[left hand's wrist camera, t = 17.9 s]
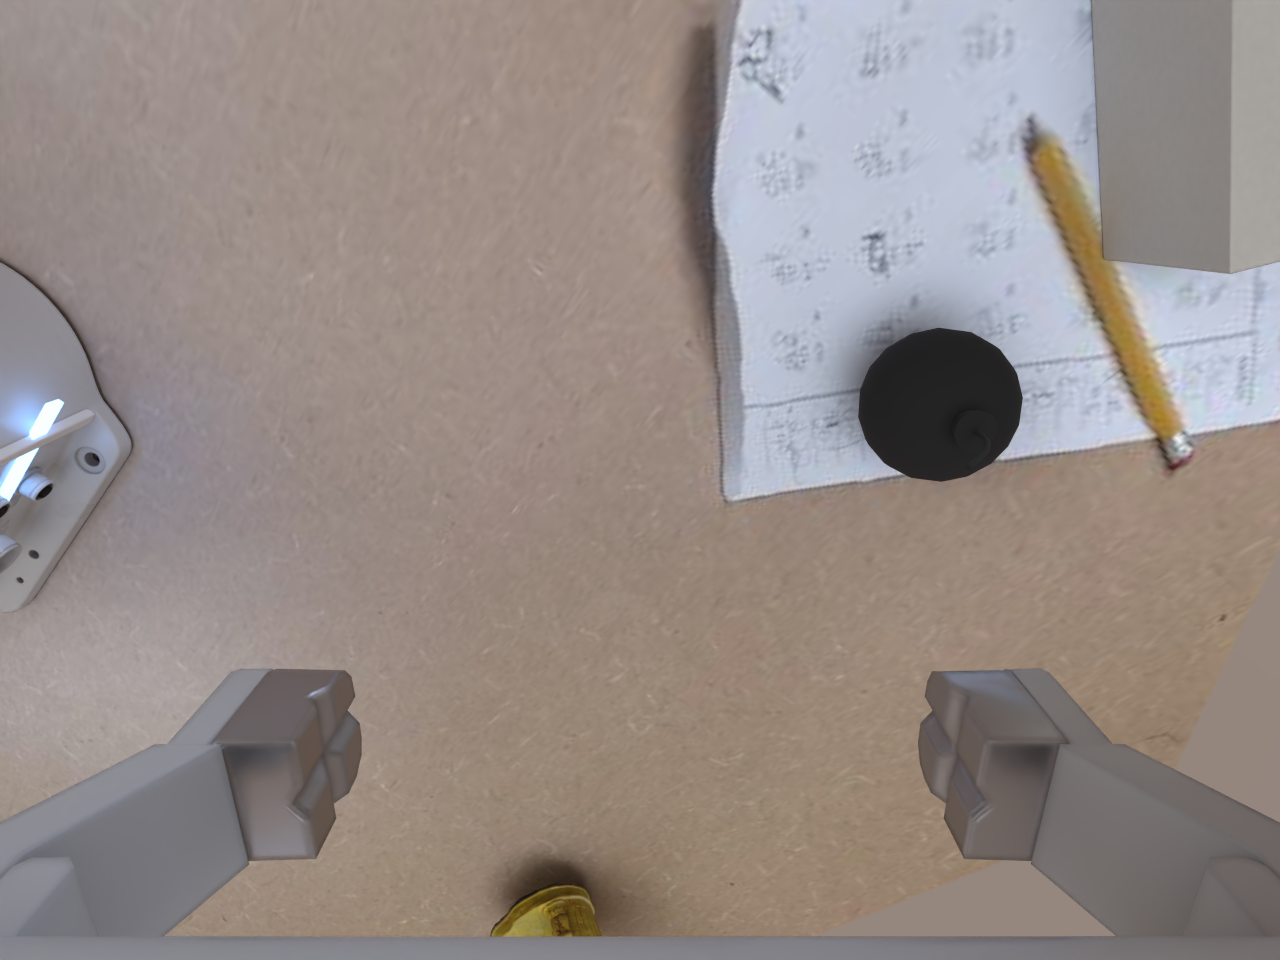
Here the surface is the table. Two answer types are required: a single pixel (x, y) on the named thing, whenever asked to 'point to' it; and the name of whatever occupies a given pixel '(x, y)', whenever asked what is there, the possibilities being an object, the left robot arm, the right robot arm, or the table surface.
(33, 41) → the table surface
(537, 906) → the shrine
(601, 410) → the table surface
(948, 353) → the bomb
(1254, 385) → the table surface
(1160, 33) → the bar
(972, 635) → the table surface
